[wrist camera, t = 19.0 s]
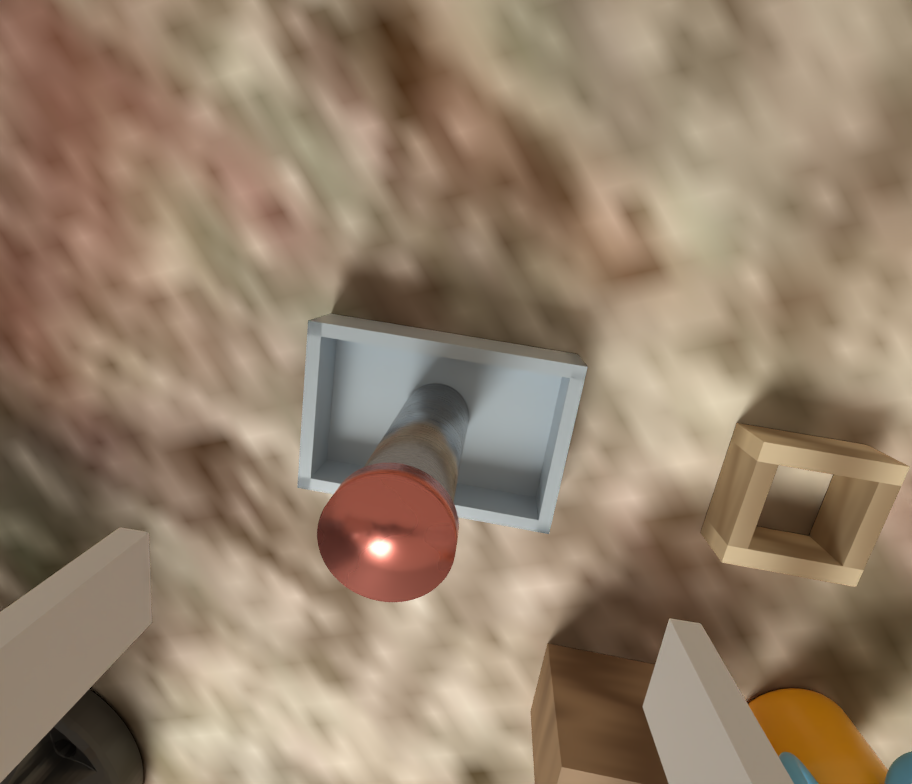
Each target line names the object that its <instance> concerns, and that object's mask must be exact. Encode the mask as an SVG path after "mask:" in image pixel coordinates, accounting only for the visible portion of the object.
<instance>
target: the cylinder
mask: <svg viewBox="0 0 912 784" xmlns="http://www.w3.org/2000/svg"><path fill="white" fill-rule="evenodd" d="M748 705H749V707H750V709H751V710H752V712H753V714H754V716H755V717H756V719H757V721H758V723H759V724H760V726H761V728H762V729H763V731H764V733H765V735H766V736H767V738H768V740H769V741H770V743H771V745H772V747H773V748H774V750H775V752H776V753H777V755H778V757H779V759H780V760H781V762H782V764H783V766H784V767H785V769H786V771H787V772H788V774H789V776H790V778H791V779H792V781H793V783H794V784H911V783H912V752H908V753H905V754H903V755H902V756H900V757H899V758H897V759H896V760H895V761H894V762H893V764H892V765H891V766H890V768H889V770H888V769H887V768H886V767H885V765H884V764H883V763H882V761H881V760H880V759H879V757H878V756H877V755H876V753H875V752H874V751H873V749H872V748H871V747H870V745H869V744H868V743H867V741H866V740H865V739H864V737H863V736H862V735H861V733H860V732H859V731H858V730H857V728H856V727H855V726H854V724H853V723H852V722H851V720H850V719H849V718H848V716H847V715H846V714H845V712H844V711H843V710H842V709H841V708H840V707H839V706H838V705H837V704H836V703H835V702H834V701H832V700H831V699H829V698H827V697H826V696H824V695H823V694H820V693H817V692H815V691H812V690H806V689H800V688H787V689H779V690H775V691H771V692H768V693H766V694H763V695H761V696H759V697H757V698H756V699H754V700H752V701H751V702H750V703H749V704H748Z"/></svg>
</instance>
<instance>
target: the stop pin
mask: <svg viewBox="0 0 912 784" xmlns="http://www.w3.org/2000/svg"><path fill="white" fill-rule="evenodd" d="M468 422H469V410H468V406H467V403H466V401H465V399H464V398H463V396H462V395H461V394H460V393H459V392H458V391H457V390H455V389H454V388H452V387H450V386H448V385H445V384H441V383H430V384H426V385H423V386H421V387H419V388H417V389H416V390H415V391H413V392H412V394H411V395H410V396H409V398H408V399H407V401H406V402H405V404H404V405H403V407H402V408H401V410H400V412H399V413H398V415H397V416H396V418H395V419H394V421H393V422H392V424H391V426H390V427H389V429H388V430H387V432H386V433H385V435H384V436H383V438H382V440H381V441H380V443H379V444H378V446H377V447H376V449H375V450H374V452H373V454H372V455H371V457H370V458H369V460H368V461H367V463H366V464H365V466H364V467H363V468H361V469H359V470H357V471H355V472H354V473H352V474H351V475H350V476H348V477H347V478H346V479H345V480H344V481H343V482H342V483H341V484H340V486H339V487H338V489H337V490H336V492H335V493H334V494H333V496H332V497H331V499H330V500H329V502H328V503H327V505H326V506H325V507H324V509H323V511H322V514H321V516H320V519H319V523H318V529H317V539H318V546H319V550H320V553H321V556H322V558H323V560H324V562H325V564H326V566H327V567H328V569H329V570H330V572H331V573H332V574H333V575H334V576H335V577H336V578H337V579H338V580H339V581H340V582H341V583H342V584H343V585H344V586H346V587H347V588H349V589H350V590H352V591H353V592H355V593H357V594H359V595H361V596H364V597H367V598H370V599H373V600H378V601H384V602H402V601H408V600H412V599H415V598H418V597H421V596H423V595H425V594H427V593H429V592H430V591H432V590H433V589H435V588H436V587H437V586H438V585H439V584H440V583H441V582H442V581H443V580H444V579H445V577H446V576H447V574H448V573H449V571H450V569H451V567H452V564H453V561H454V557H455V552H456V545H457V538H458V530H459V522H458V515H457V511H456V508H455V505H454V503H453V502H454V497H455V491H456V486H457V481H458V475H459V470H460V465H461V459H462V454H463V448H464V443H465V438H466V432H467V427H468Z"/></svg>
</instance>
